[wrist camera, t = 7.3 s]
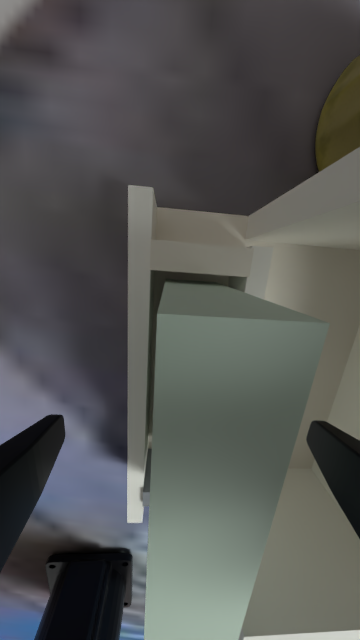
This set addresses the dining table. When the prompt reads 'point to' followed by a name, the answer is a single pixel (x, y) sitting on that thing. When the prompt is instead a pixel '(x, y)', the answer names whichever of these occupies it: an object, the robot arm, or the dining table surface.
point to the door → (219, 449)
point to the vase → (340, 119)
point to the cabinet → (325, 395)
